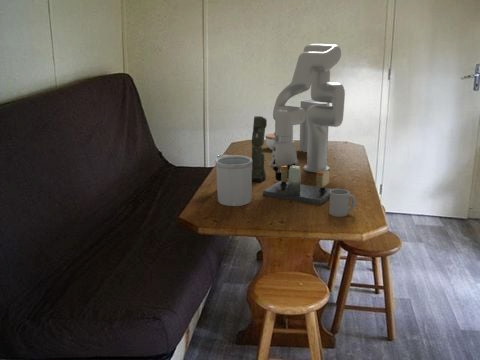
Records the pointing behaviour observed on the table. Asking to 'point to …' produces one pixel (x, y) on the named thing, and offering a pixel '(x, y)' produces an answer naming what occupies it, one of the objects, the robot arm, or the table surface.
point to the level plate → (304, 195)
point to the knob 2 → (322, 179)
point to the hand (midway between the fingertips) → (283, 179)
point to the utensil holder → (234, 180)
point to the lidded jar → (270, 140)
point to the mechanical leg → (258, 149)
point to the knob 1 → (284, 174)
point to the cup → (340, 202)
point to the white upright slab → (303, 126)
